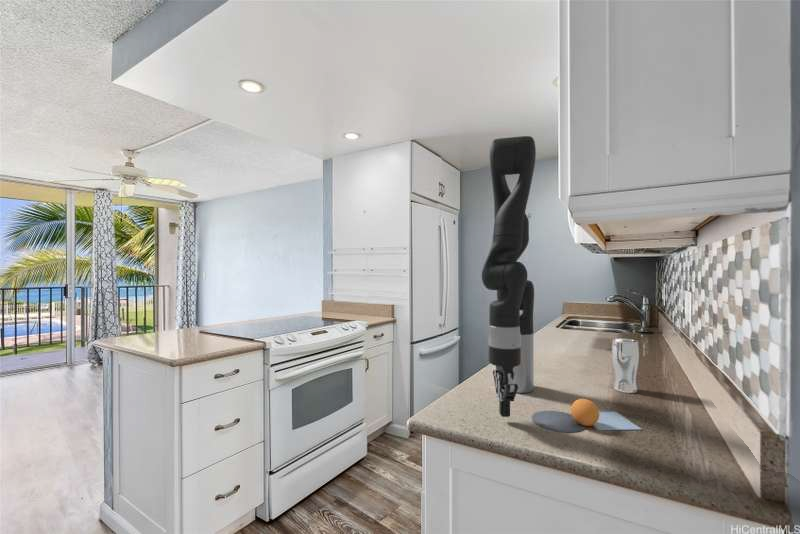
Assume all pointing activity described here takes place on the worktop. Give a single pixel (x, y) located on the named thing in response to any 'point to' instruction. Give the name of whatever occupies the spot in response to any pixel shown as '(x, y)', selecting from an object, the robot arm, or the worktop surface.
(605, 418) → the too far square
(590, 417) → the ball
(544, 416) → the disc
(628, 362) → the beer glass
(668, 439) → the worktop surface
